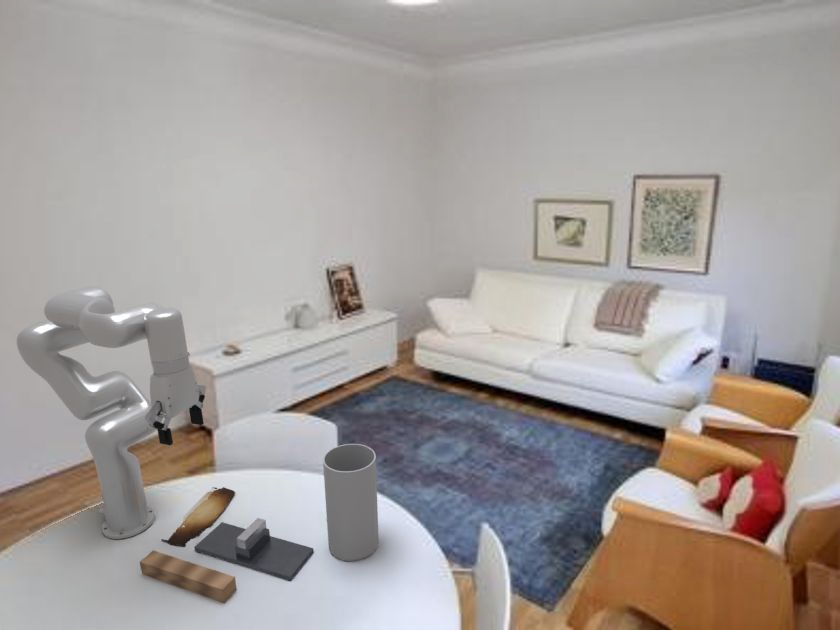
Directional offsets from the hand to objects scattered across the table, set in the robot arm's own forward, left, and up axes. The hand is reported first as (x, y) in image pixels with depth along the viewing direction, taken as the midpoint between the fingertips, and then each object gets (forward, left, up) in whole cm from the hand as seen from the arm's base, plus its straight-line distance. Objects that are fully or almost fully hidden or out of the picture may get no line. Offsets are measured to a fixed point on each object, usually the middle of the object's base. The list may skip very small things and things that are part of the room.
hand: (182, 433), depth 124 cm
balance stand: (+12, +5, -33) cm, 36 cm away
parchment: (-10, +12, -34) cm, 37 cm away
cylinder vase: (+34, +16, -33) cm, 50 cm away
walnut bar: (+4, -9, -33) cm, 35 cm away
